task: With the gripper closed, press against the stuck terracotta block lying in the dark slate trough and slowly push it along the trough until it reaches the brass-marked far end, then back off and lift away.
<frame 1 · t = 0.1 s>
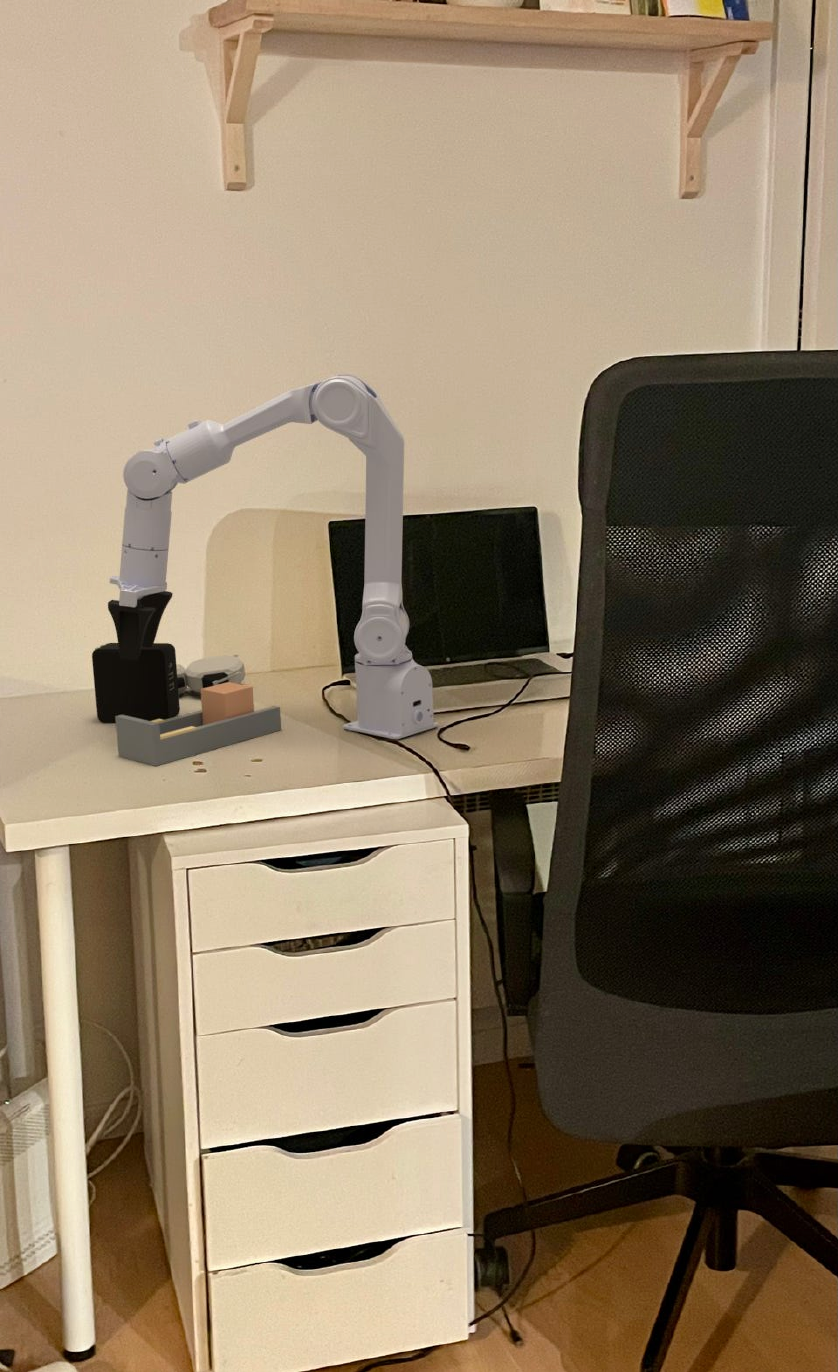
hand: (136, 652, 191), 11 cm above the table, tool pointing down, fingers open, 7 cm apart
trough: (205, 741, 188), on the table
block: (227, 707, 190), point 4 cm above the table, slide at 0.0 cm
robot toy: (193, 695, 214), on the table
electronic device: (139, 721, 200), on the table
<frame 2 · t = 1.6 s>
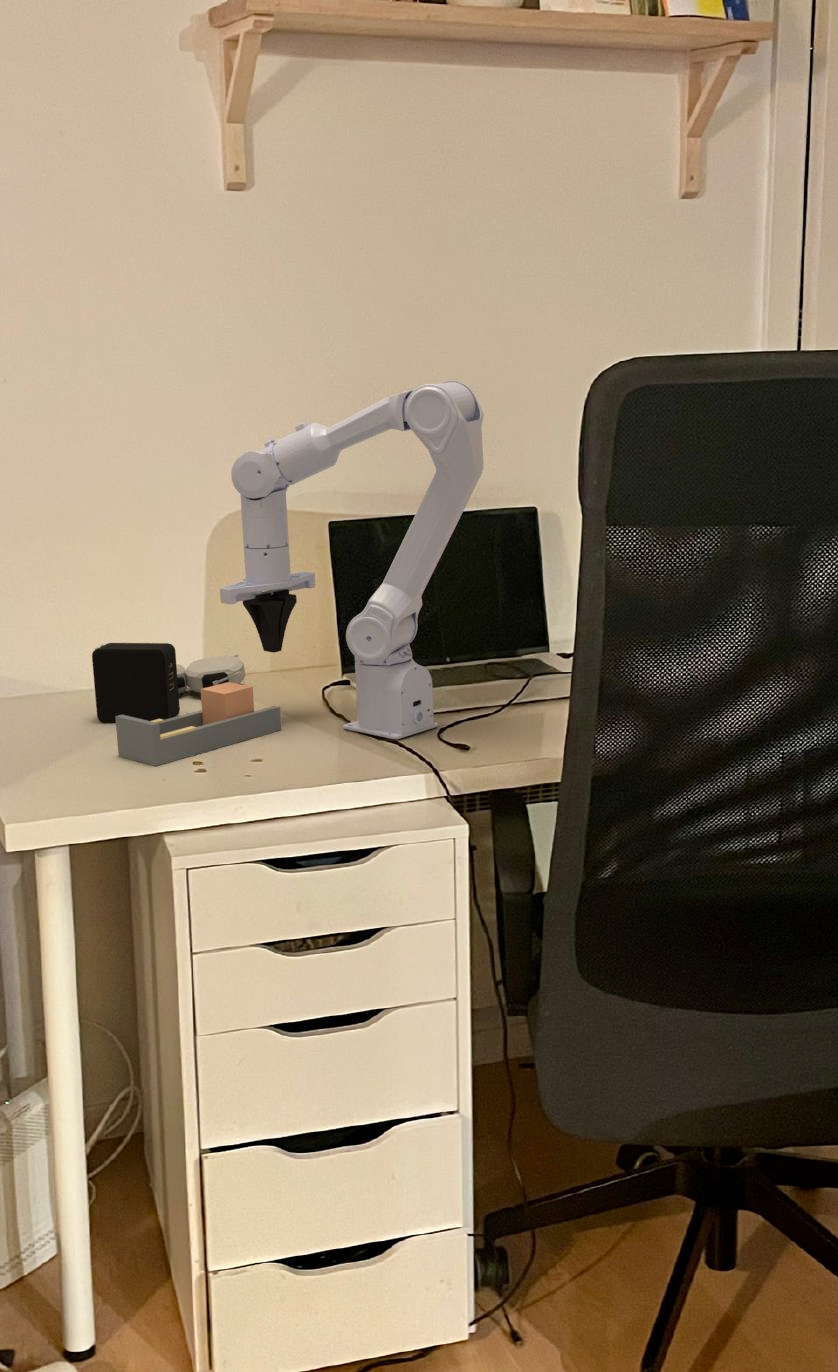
hand: (272, 650, 194), 9 cm above the table, tool pointing down, fingers closed
nothing on the table moved.
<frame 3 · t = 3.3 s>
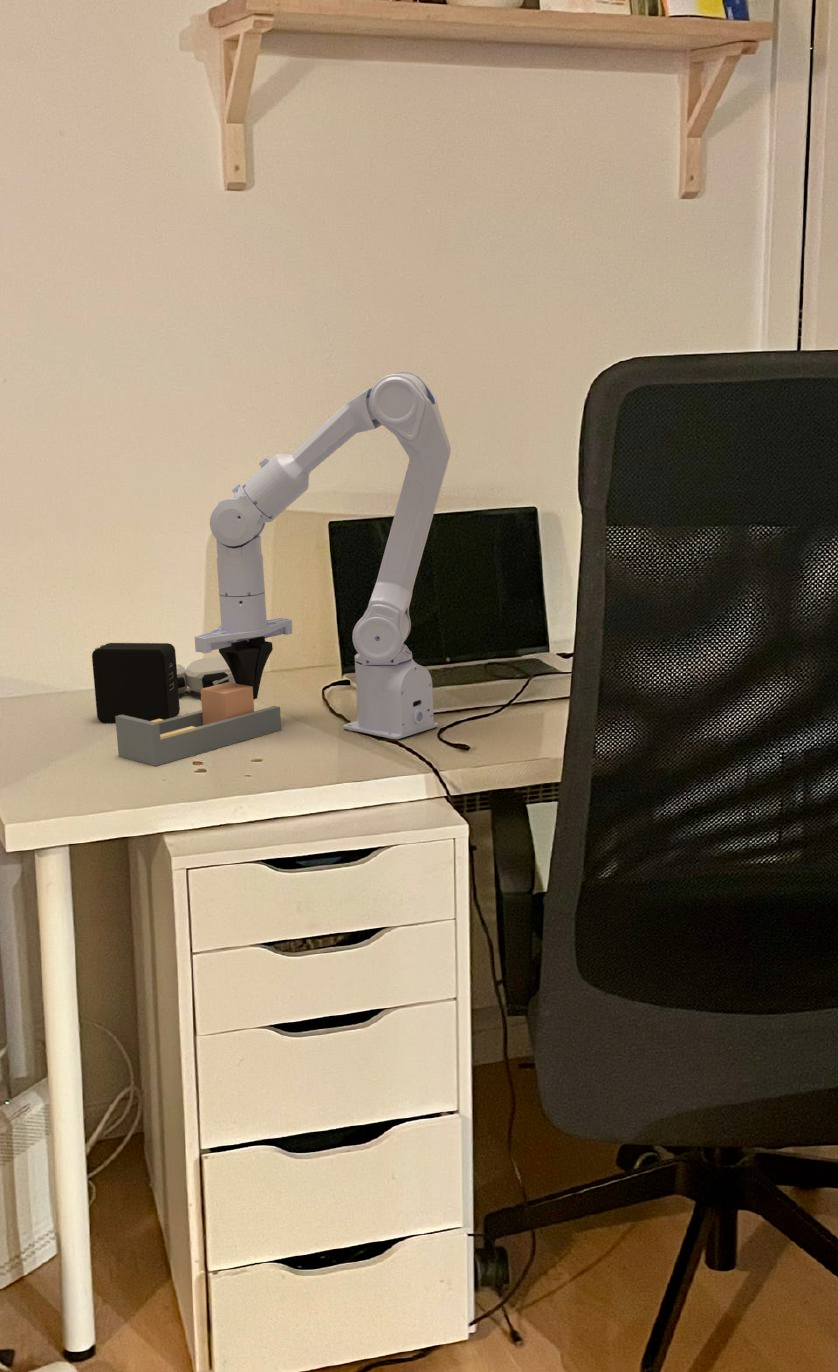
hand: (248, 698, 192), 4 cm above the table, tool pointing down, fingers closed
block: (227, 707, 190), point 4 cm above the table, slide at 0.0 cm, touching gripper
everything else where it was.
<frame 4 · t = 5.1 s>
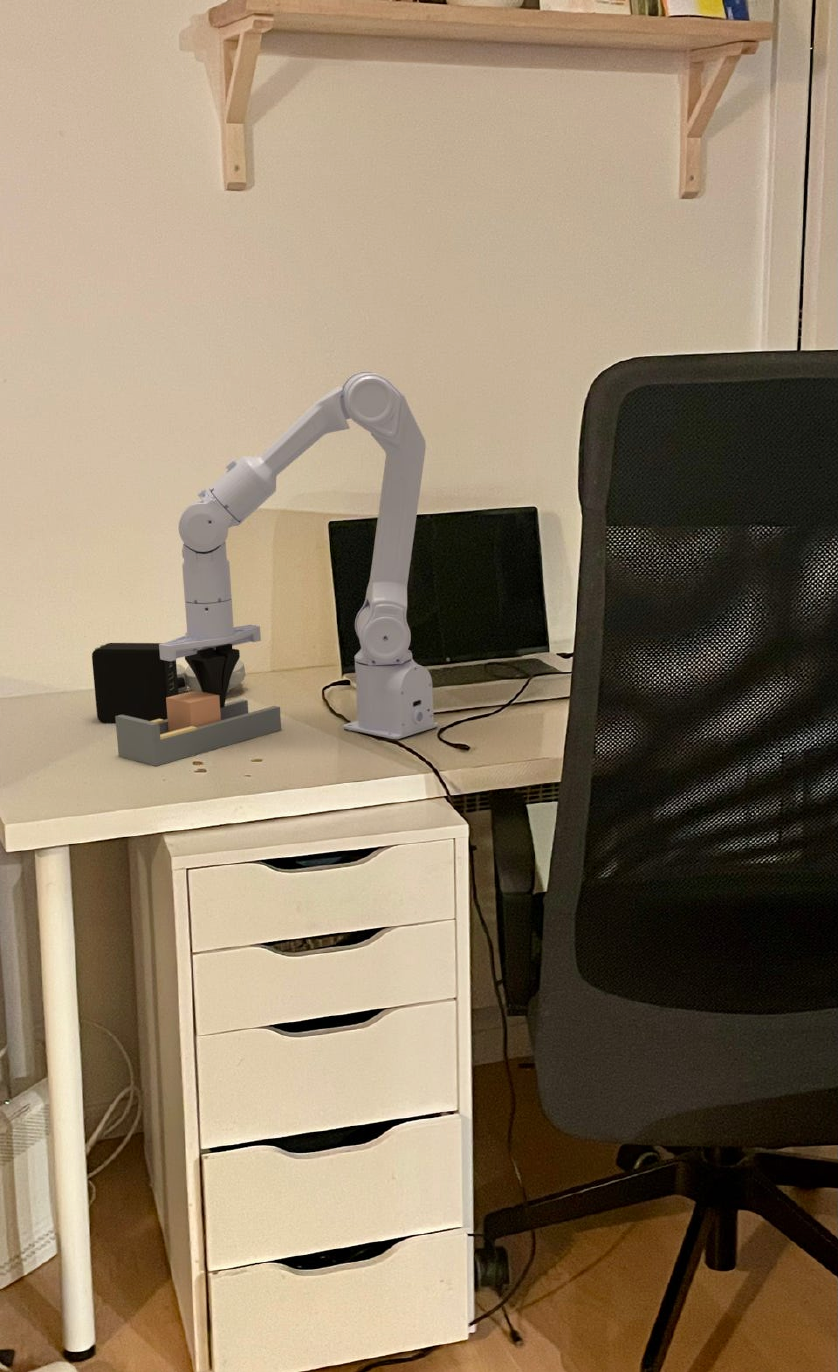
hand: (215, 707, 189), 4 cm above the table, tool pointing down, fingers closed
block: (194, 716, 186), point 4 cm above the table, slide at 5.5 cm, touching gripper
everything else where it was.
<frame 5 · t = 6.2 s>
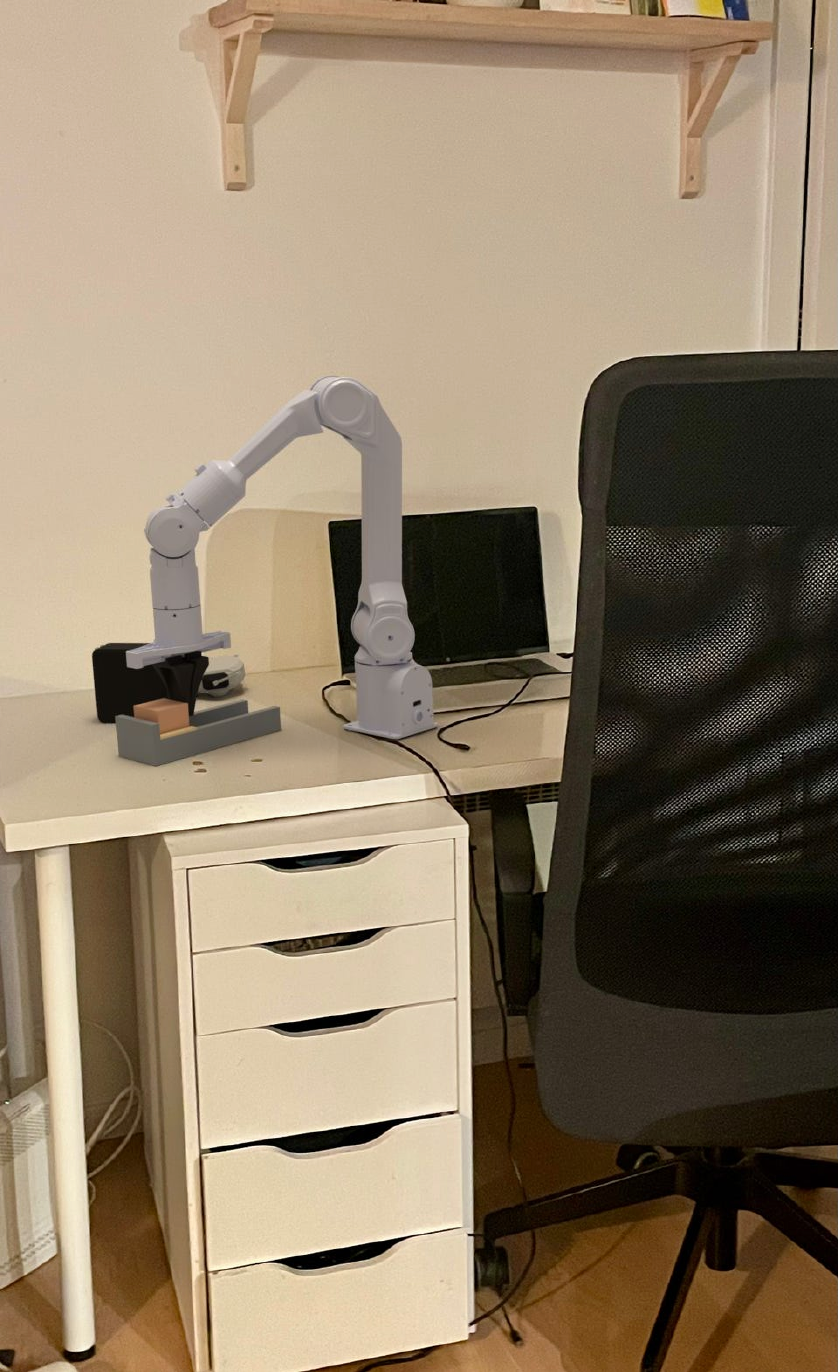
hand: (184, 715, 185), 4 cm above the table, tool pointing down, fingers closed
block: (162, 724, 183), point 4 cm above the table, slide at 10.4 cm, touching gripper
everything else where it was.
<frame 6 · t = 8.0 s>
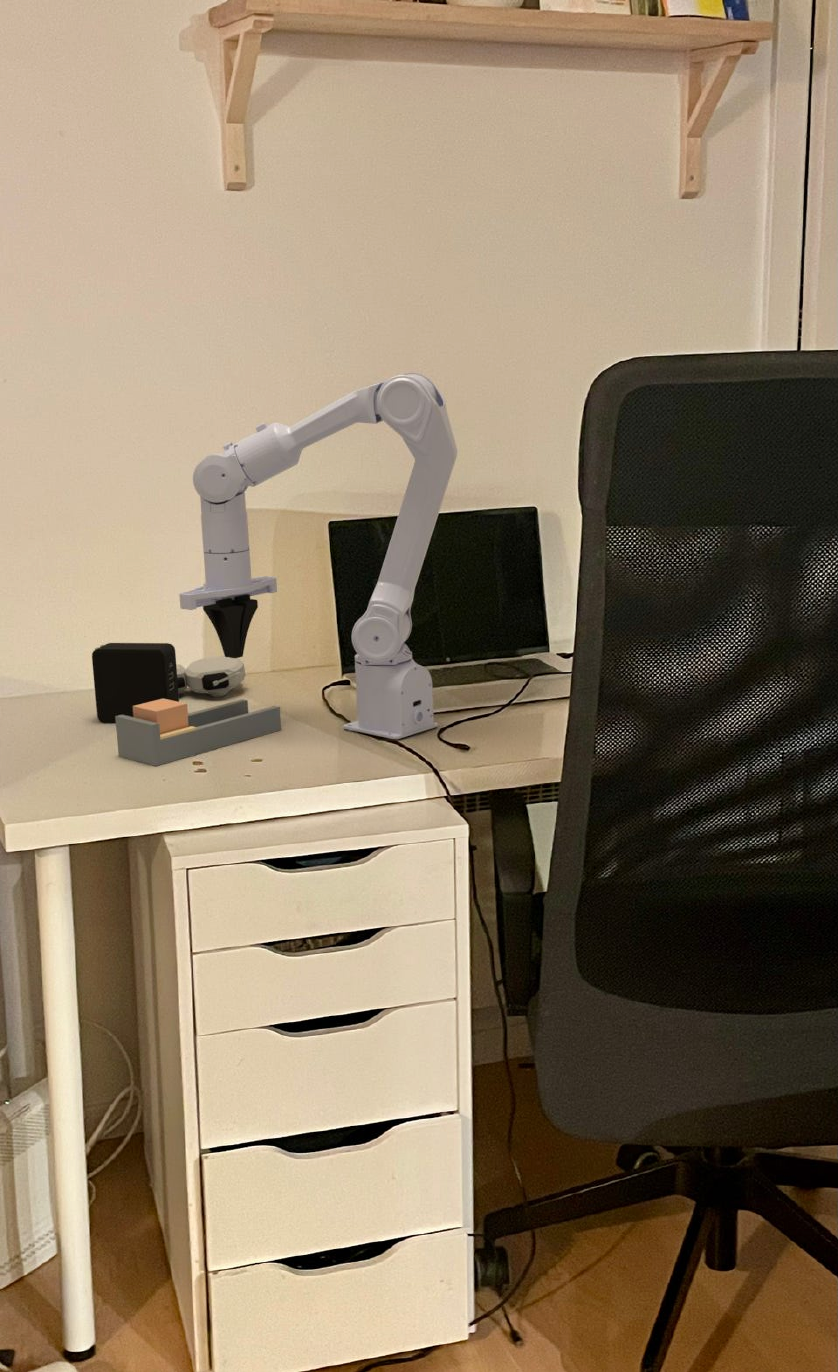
hand: (233, 656, 192), 9 cm above the table, tool pointing down, fingers closed
block: (161, 724, 183), point 4 cm above the table, slide at 10.5 cm
everything else where it was.
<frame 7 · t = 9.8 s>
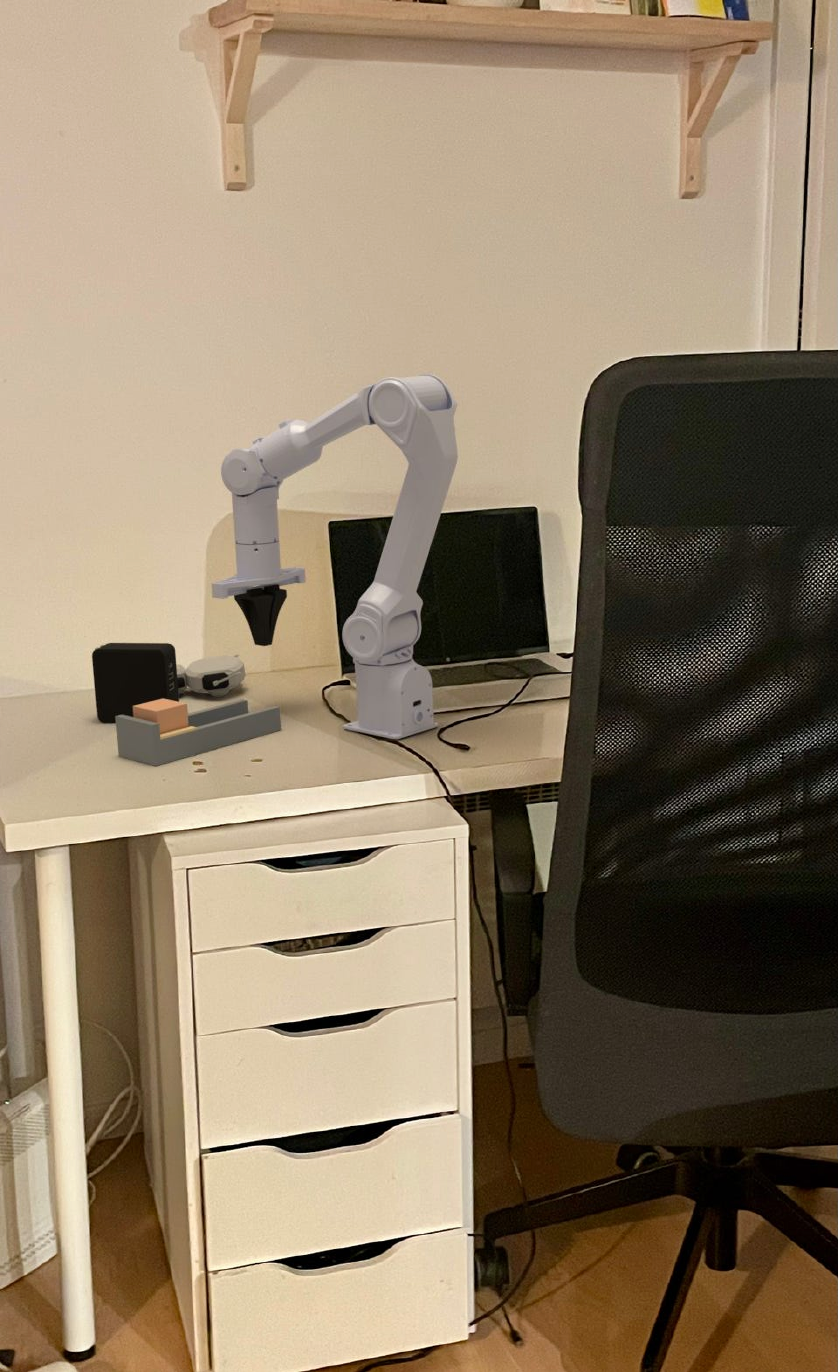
hand: (263, 644, 198), 9 cm above the table, tool pointing down, fingers closed
nothing on the table moved.
at the end: block slide at 10.5 cm; the gripper is holding nothing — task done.
